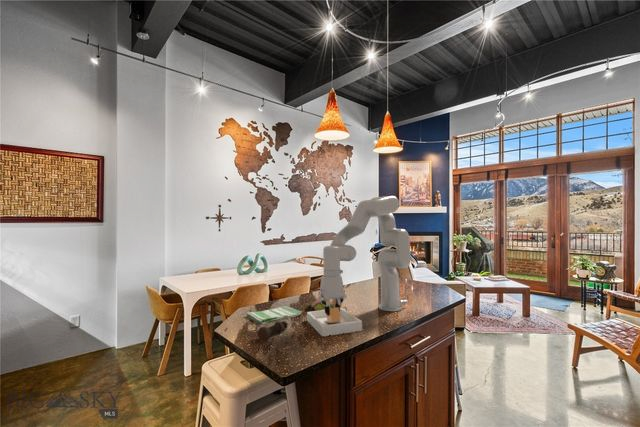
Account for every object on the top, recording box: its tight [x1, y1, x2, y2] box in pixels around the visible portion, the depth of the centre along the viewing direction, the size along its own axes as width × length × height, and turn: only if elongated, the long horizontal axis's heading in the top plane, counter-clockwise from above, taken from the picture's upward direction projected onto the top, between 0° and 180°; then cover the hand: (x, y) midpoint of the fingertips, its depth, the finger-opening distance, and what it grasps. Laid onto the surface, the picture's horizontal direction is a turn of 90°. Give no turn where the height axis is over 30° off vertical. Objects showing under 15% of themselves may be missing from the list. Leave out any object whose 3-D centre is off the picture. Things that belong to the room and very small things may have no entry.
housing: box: [306, 307, 363, 338], centre depth 134 cm, size 18×22×4 cm
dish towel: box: [246, 305, 303, 326], centre depth 151 cm, size 18×23×3 cm
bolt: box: [257, 320, 288, 342], centre depth 125 cm, size 6×5×15 cm
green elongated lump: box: [306, 298, 335, 311], centre depth 157 cm, size 12×7×25 cm
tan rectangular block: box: [327, 303, 340, 323], centre depth 134 cm, size 4×6×8 cm, turn 19°
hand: (332, 313), depth 134 cm, fingers closed on tan rectangular block, 4 cm apart
